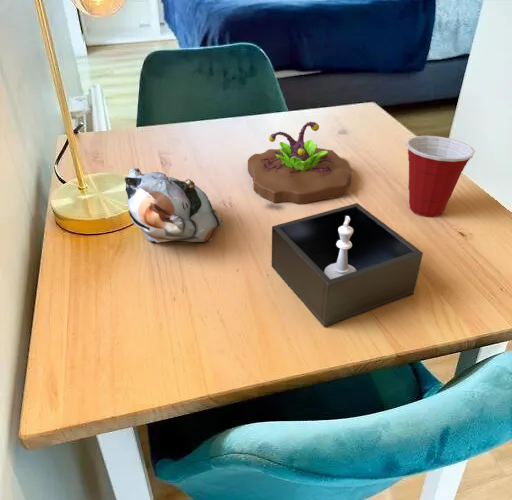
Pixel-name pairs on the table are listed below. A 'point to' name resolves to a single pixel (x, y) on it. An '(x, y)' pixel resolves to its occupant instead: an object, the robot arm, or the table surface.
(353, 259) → the dark grey open box
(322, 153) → the plant
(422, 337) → the table surface
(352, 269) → the chess piece
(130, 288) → the table surface
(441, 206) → the plastic cup
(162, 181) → the lucky cat figurine
